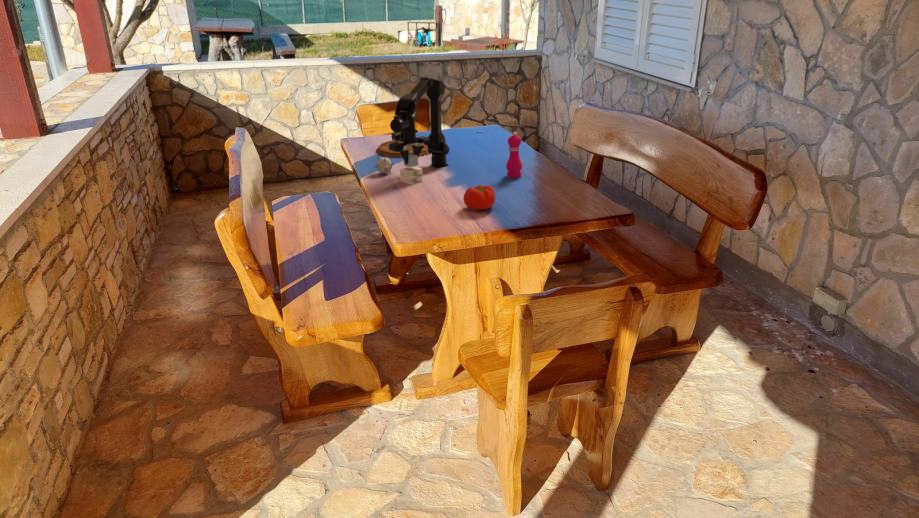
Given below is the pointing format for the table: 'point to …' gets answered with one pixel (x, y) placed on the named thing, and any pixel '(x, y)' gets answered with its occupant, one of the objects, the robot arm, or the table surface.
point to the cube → (412, 160)
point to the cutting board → (384, 151)
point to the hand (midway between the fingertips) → (410, 163)
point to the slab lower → (411, 180)
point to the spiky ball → (384, 165)
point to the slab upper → (411, 172)
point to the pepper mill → (514, 157)
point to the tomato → (479, 197)
